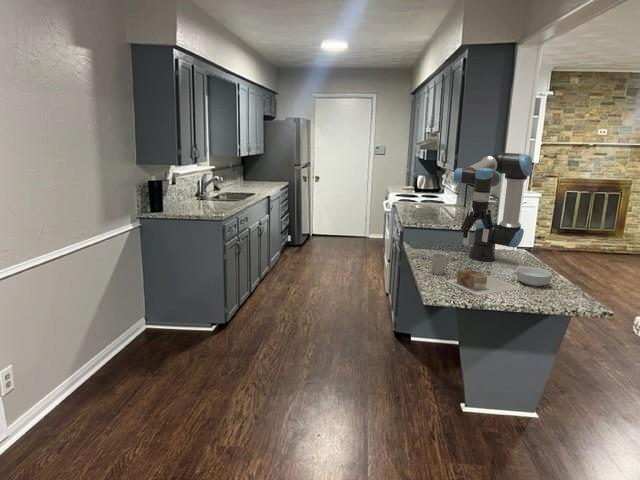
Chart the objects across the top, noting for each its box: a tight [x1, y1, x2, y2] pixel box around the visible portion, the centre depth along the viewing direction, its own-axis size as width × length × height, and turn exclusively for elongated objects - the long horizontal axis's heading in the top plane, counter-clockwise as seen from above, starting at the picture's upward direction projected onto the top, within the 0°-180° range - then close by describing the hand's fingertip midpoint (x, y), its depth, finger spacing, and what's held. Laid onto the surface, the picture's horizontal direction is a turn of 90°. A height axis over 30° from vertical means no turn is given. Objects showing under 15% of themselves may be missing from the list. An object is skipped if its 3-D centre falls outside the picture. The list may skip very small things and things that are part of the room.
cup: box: [431, 253, 449, 276], centre depth 238 cm, size 8×8×10 cm
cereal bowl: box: [515, 266, 553, 287], centre depth 230 cm, size 17×17×7 cm
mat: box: [443, 273, 520, 297], centre depth 225 cm, size 30×22×1 cm
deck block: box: [456, 268, 487, 291], centre depth 221 cm, size 12×7×6 cm, turn 29°
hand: (475, 242), depth 222 cm, fingers open, 13 cm apart
